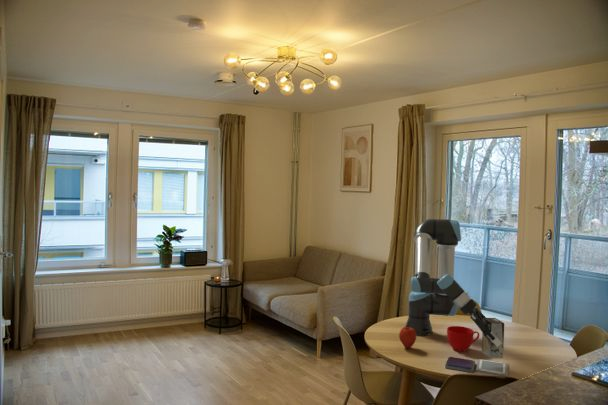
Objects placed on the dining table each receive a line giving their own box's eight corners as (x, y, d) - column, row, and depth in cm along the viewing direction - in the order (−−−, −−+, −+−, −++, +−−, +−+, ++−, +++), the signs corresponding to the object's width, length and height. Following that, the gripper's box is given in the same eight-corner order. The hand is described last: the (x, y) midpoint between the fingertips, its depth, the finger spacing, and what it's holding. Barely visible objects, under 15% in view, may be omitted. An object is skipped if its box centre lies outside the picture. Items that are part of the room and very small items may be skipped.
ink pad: (445, 368, 216) (445, 364, 216) (448, 359, 227) (448, 355, 227) (473, 372, 211) (473, 368, 211) (475, 363, 222) (475, 359, 222)
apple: (397, 349, 239) (398, 328, 239) (400, 344, 247) (401, 323, 247) (414, 352, 236) (415, 330, 236) (417, 346, 244) (417, 325, 244)
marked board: (475, 371, 213) (476, 369, 213) (478, 360, 227) (478, 358, 227) (507, 376, 208) (507, 374, 208) (507, 364, 221) (507, 363, 221)
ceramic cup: (485, 352, 237) (486, 333, 237) (453, 354, 234) (454, 334, 234) (472, 344, 250) (472, 325, 250) (442, 345, 247) (442, 326, 247)
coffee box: (503, 358, 213) (505, 323, 212) (490, 358, 212) (491, 323, 212) (494, 351, 222) (495, 317, 221) (480, 351, 221) (482, 317, 221)
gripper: (469, 303, 210) (506, 343, 204) (473, 293, 231) (506, 329, 225) (456, 313, 212) (492, 354, 206) (461, 303, 233) (494, 339, 227)
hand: (499, 341), depth 215 cm, fingers closed on coffee box, 11 cm apart
